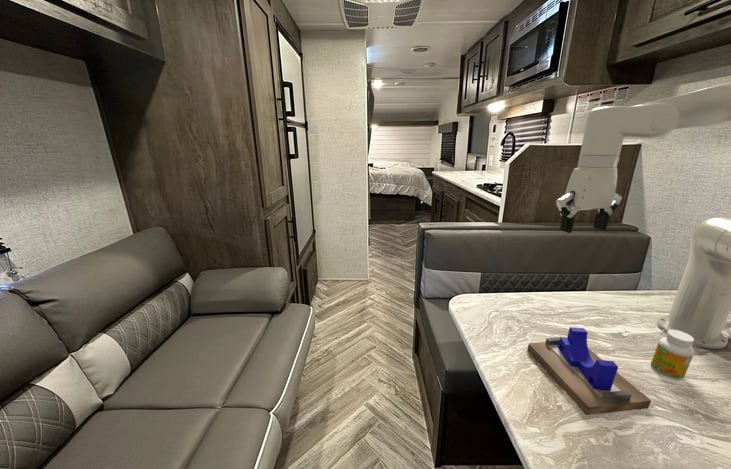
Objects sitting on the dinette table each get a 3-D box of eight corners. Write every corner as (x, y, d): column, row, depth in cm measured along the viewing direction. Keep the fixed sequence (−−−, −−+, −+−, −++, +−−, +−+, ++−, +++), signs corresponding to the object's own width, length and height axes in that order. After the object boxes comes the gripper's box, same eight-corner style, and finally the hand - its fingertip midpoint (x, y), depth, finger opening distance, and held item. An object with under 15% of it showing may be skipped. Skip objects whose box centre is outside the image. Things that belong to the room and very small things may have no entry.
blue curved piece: (557, 347, 70) (562, 326, 68) (578, 349, 69) (584, 328, 67) (585, 388, 58) (592, 364, 56) (610, 390, 58) (618, 366, 56)
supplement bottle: (644, 366, 67) (657, 330, 64) (658, 360, 69) (671, 325, 65) (674, 383, 62) (690, 346, 59) (689, 376, 64) (705, 339, 61)
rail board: (575, 345, 73) (578, 334, 72) (648, 408, 56) (653, 394, 55) (527, 349, 72) (529, 338, 71) (586, 415, 55) (590, 401, 54)
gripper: (614, 160, 74) (599, 224, 80) (553, 162, 72) (541, 228, 78) (645, 162, 67) (626, 232, 73) (577, 165, 65) (563, 237, 70)
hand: (582, 230), depth 75 cm, fingers open, 9 cm apart
